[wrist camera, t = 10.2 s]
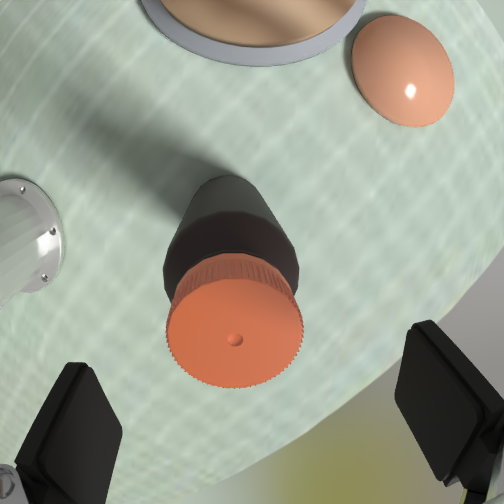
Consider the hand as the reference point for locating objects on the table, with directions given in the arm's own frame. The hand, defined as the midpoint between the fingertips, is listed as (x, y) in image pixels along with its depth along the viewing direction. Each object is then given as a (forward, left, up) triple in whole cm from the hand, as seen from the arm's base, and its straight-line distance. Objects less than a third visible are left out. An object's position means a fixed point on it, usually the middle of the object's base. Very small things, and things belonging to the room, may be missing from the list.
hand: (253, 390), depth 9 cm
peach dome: (+19, +13, -23) cm, 32 cm away
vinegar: (0, 0, -23) cm, 23 cm away
